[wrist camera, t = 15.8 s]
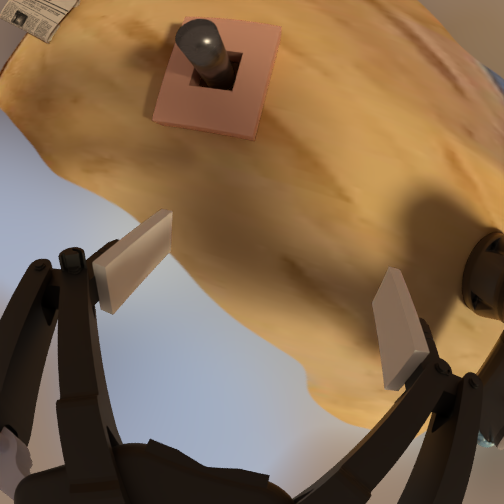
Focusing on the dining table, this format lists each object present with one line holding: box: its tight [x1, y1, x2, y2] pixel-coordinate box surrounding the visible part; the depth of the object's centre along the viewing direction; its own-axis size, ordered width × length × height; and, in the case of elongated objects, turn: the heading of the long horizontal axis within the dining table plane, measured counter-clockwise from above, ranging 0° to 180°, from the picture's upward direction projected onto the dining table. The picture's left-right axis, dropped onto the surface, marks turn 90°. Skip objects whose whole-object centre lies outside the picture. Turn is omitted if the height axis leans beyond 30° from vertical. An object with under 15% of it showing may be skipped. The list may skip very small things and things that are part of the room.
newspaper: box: [0, 0, 80, 43], centre depth 27 cm, size 35×12×4 cm, turn 51°
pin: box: [175, 19, 236, 90], centre depth 27 cm, size 4×4×14 cm
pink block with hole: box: [152, 17, 281, 141], centre depth 31 cm, size 13×16×4 cm
